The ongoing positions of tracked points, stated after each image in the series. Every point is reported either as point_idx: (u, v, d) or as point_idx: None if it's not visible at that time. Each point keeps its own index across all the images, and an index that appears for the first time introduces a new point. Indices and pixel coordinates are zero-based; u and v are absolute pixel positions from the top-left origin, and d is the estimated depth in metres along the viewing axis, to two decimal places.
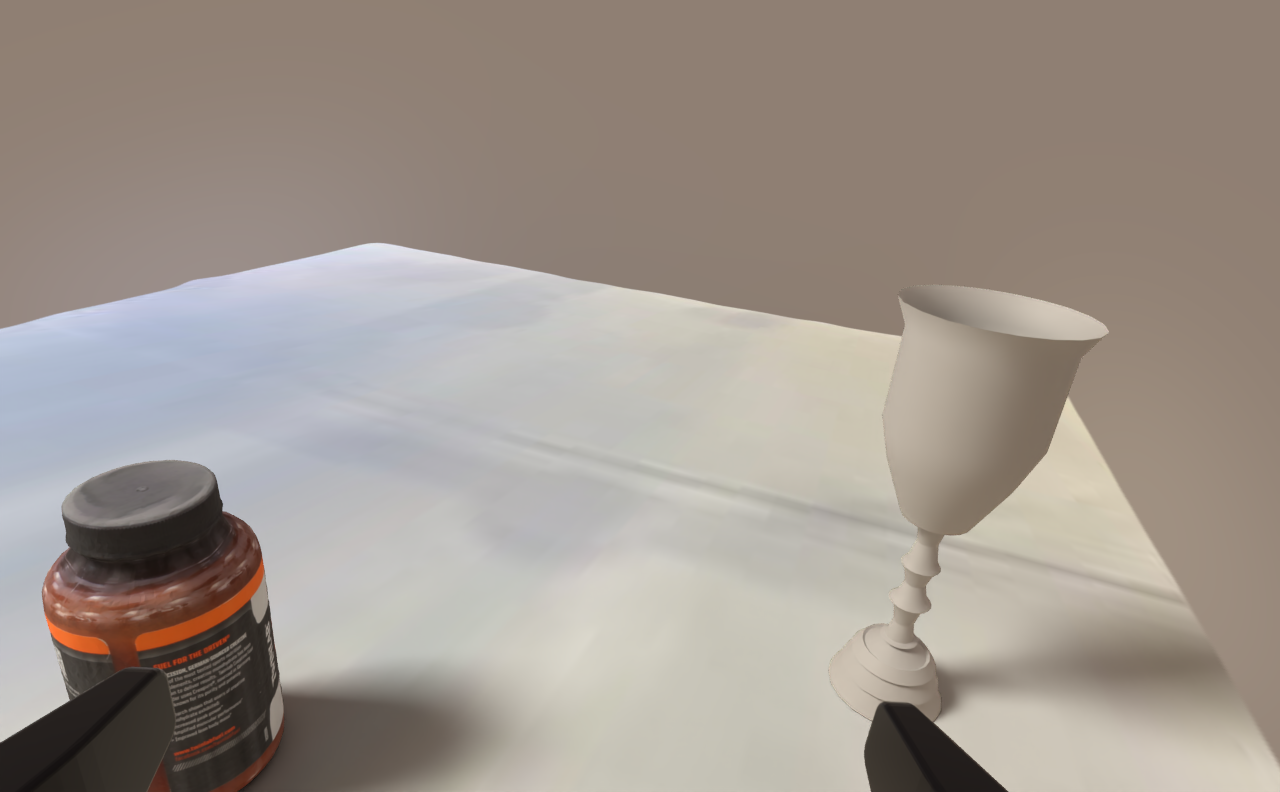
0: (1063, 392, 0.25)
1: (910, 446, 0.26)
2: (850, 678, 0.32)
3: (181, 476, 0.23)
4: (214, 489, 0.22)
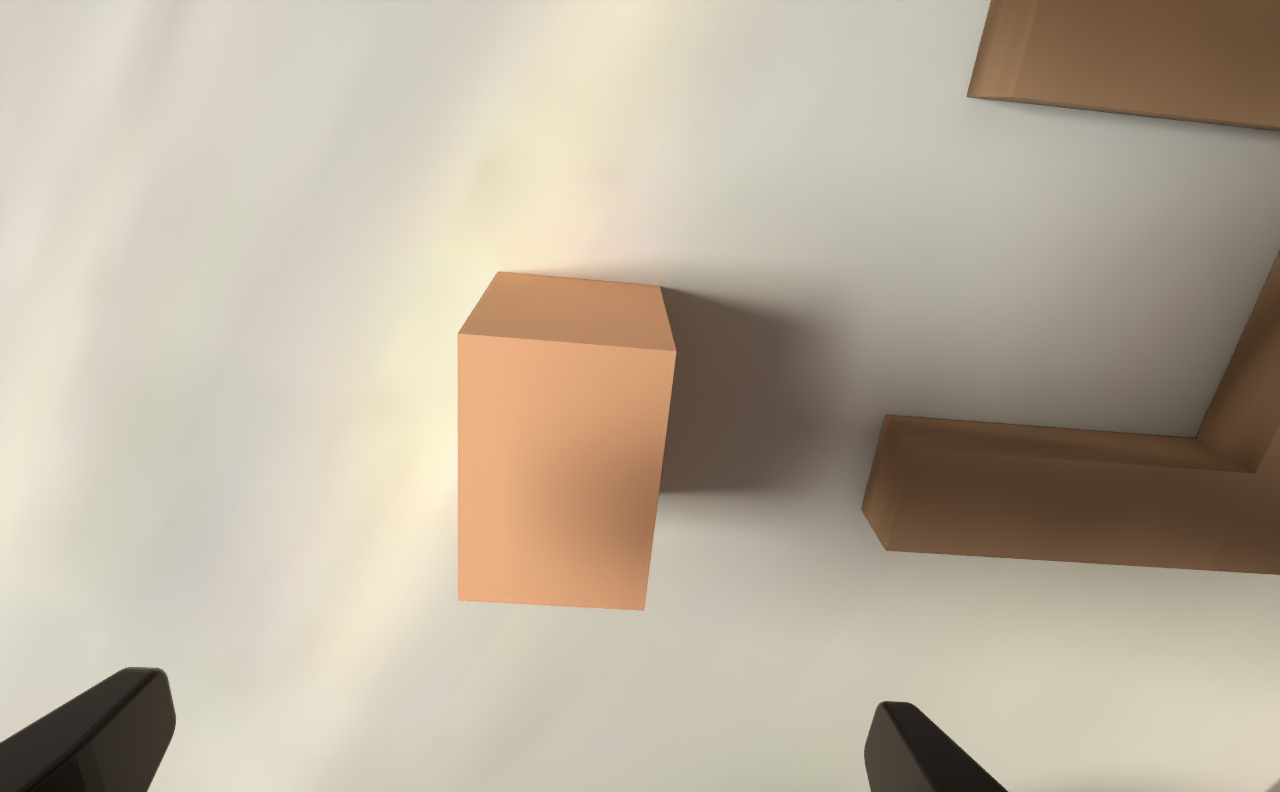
0: None
1: None
2: None
3: None
4: None
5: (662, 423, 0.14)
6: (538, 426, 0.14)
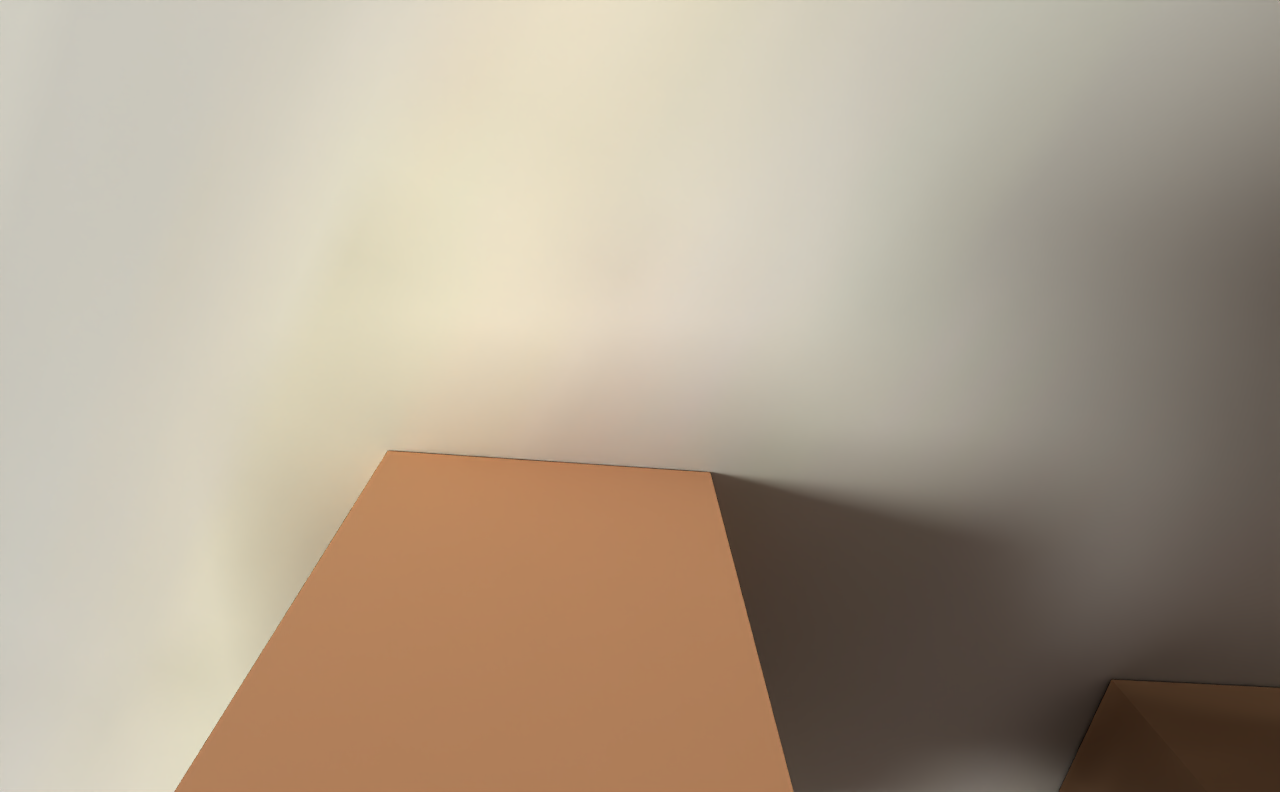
0: None
1: None
2: None
3: None
4: None
5: None
6: None
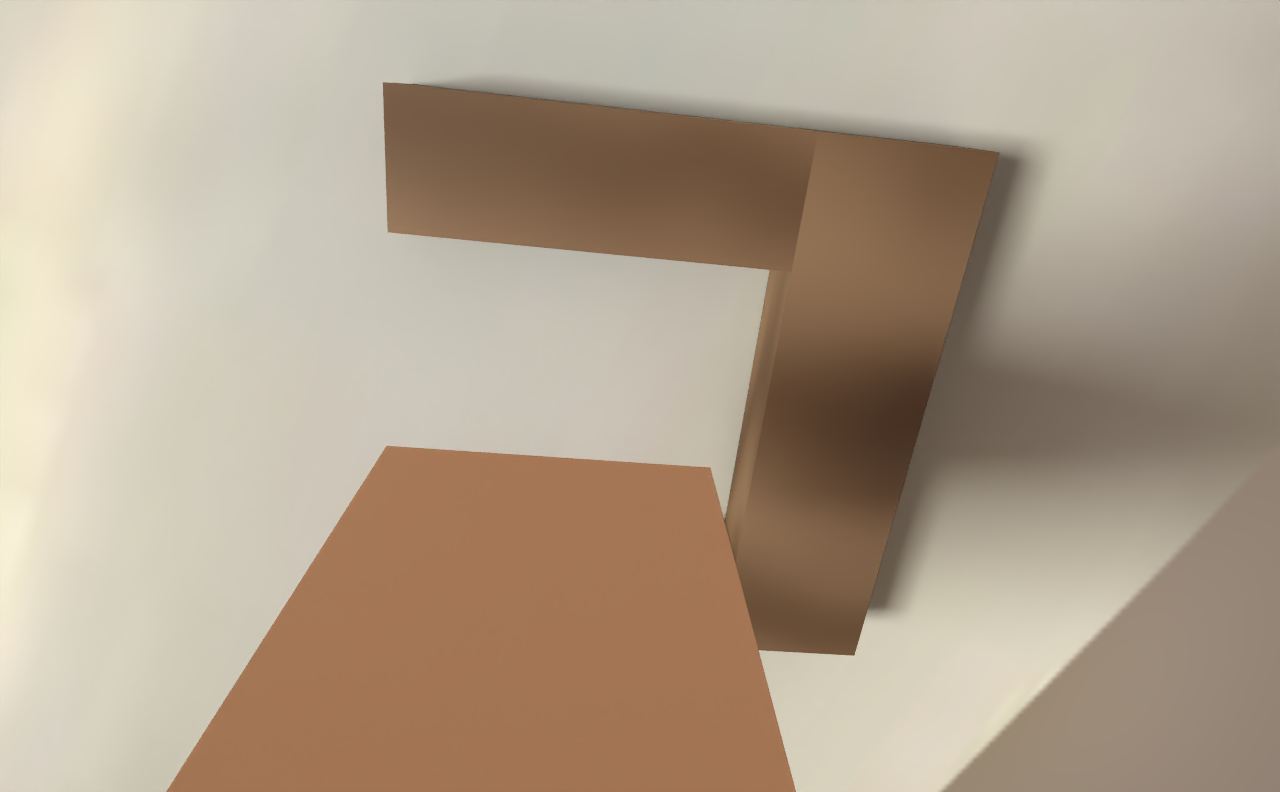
0: None
1: None
2: None
3: None
4: None
5: None
6: None
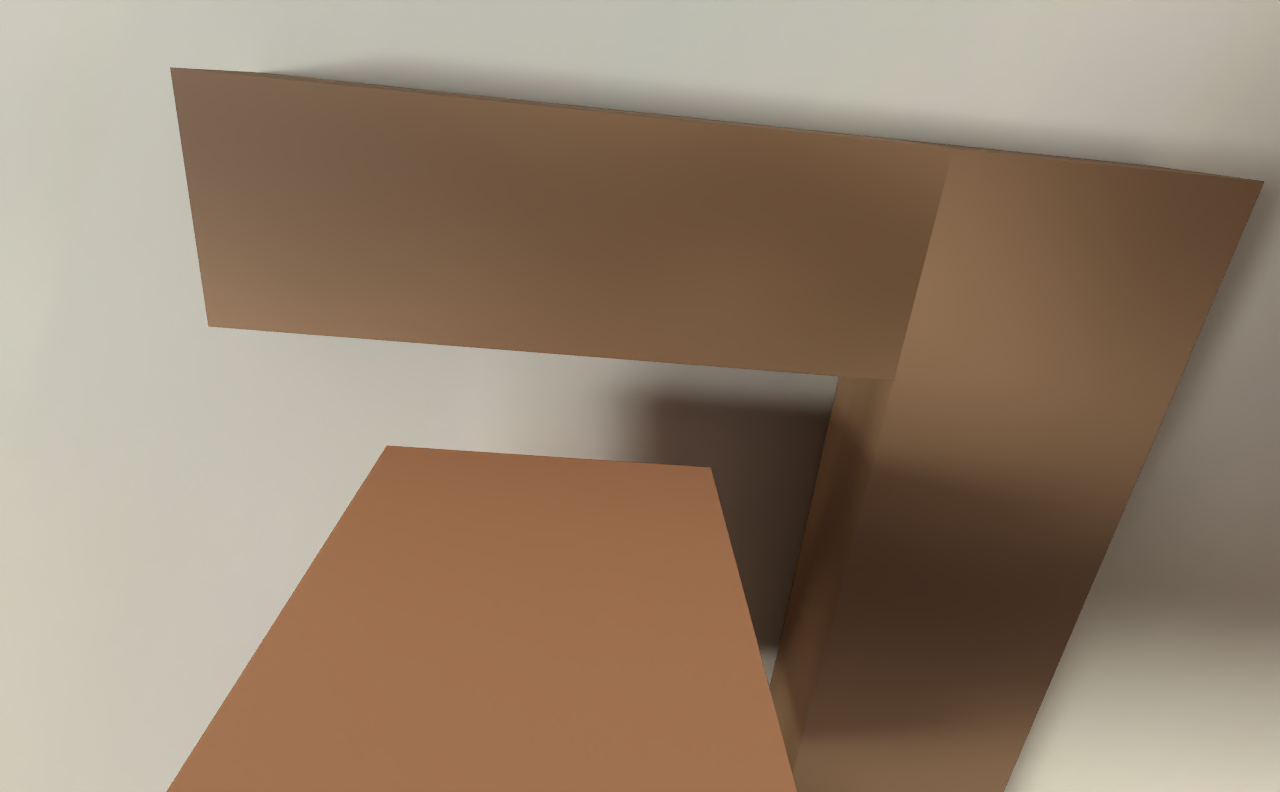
0: None
1: None
2: None
3: None
4: None
5: None
6: None
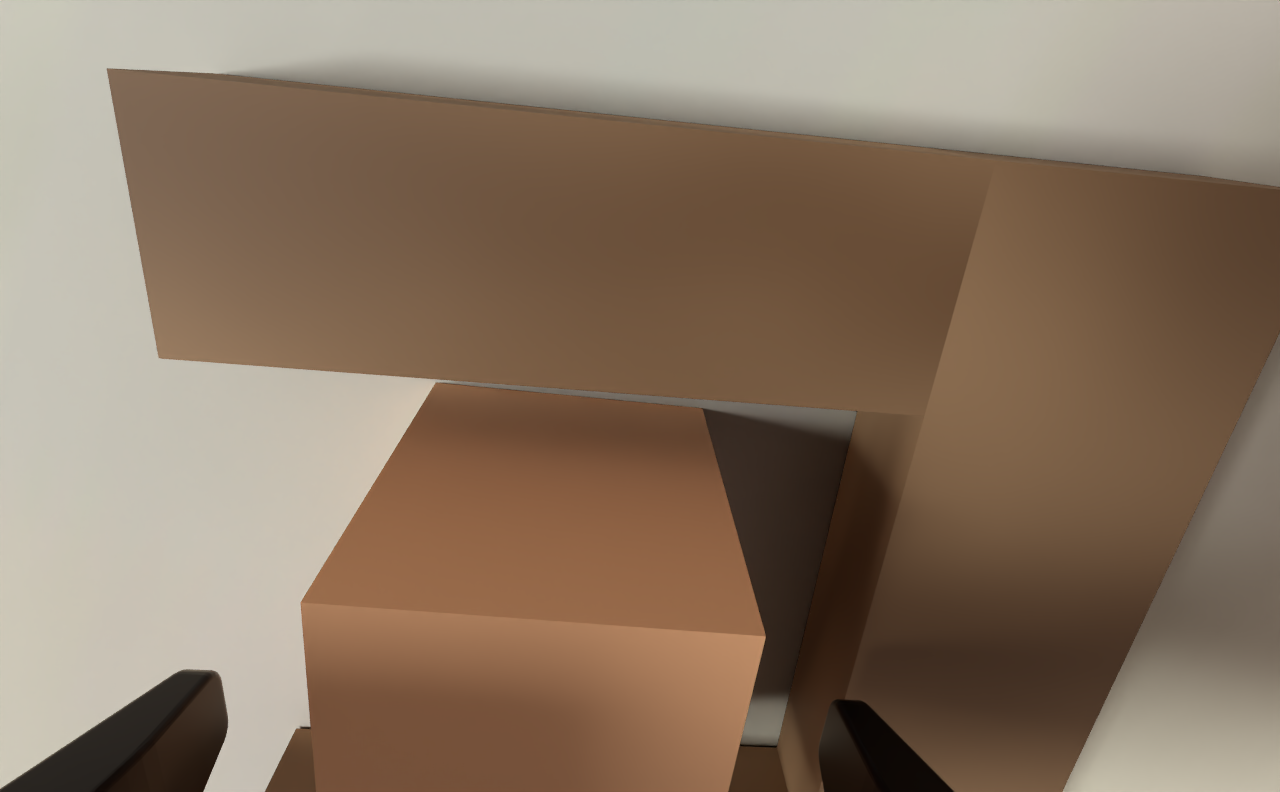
0: None
1: None
2: None
3: None
4: None
5: (725, 756, 0.07)
6: (478, 761, 0.07)
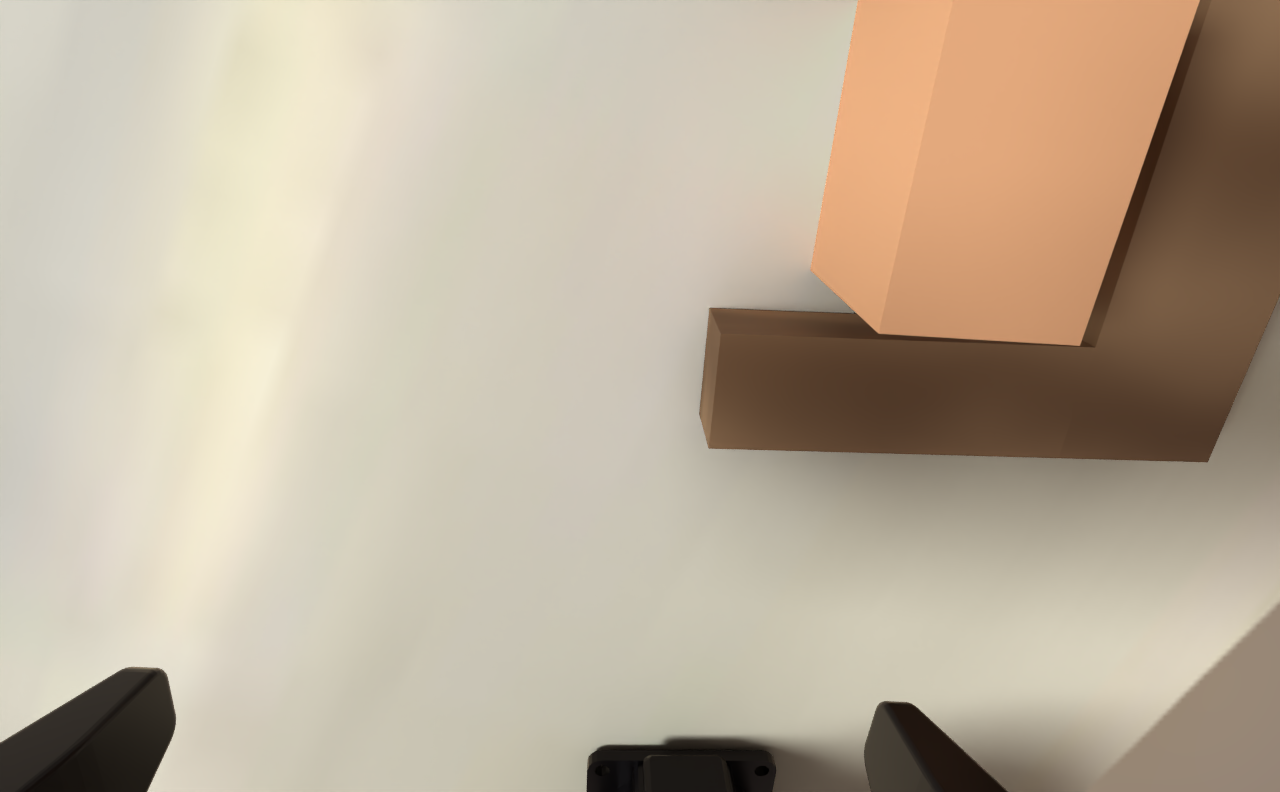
0: None
1: None
2: None
3: None
4: None
5: (1161, 92, 0.12)
6: (1022, 97, 0.12)
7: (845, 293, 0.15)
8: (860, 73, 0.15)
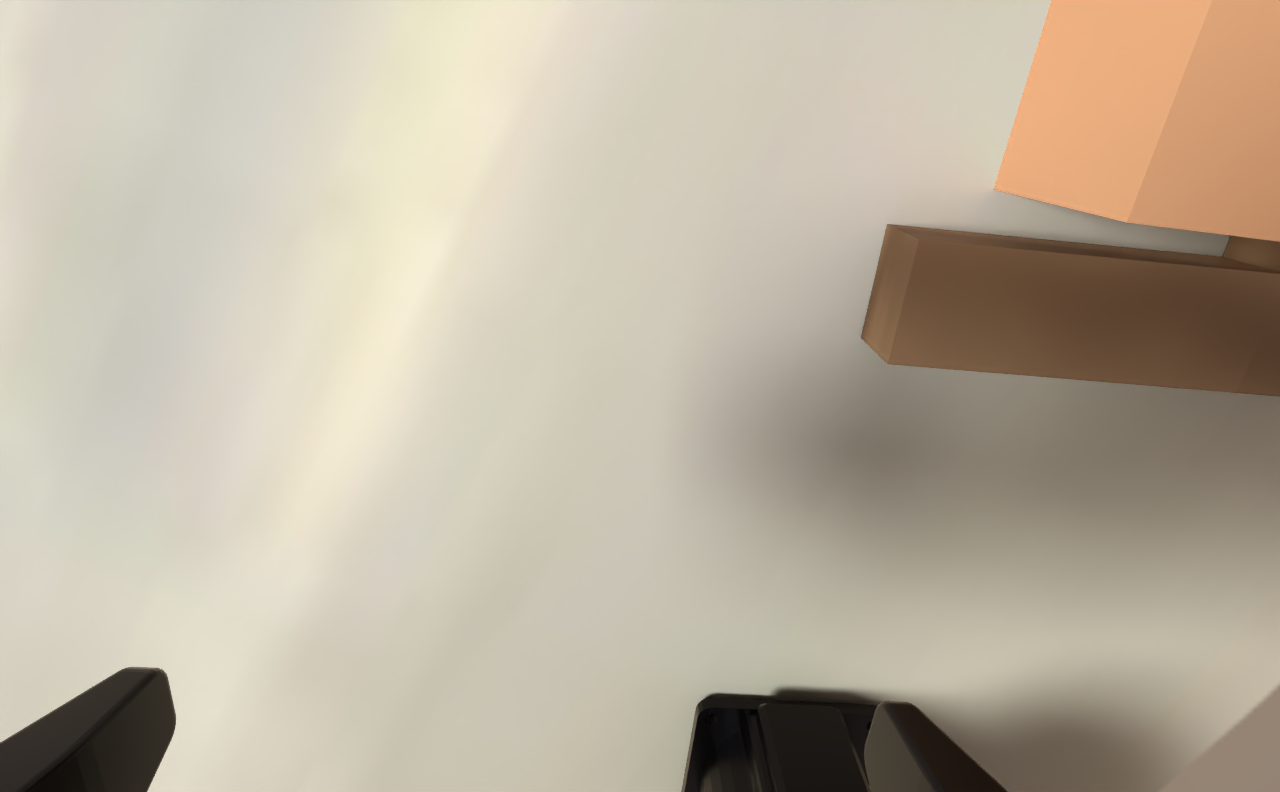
0: None
1: None
2: None
3: None
4: None
5: None
6: None
7: (1061, 197, 0.15)
8: None
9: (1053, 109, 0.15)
